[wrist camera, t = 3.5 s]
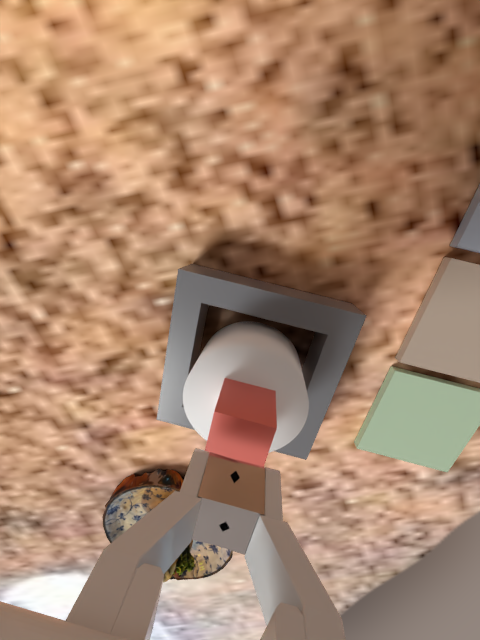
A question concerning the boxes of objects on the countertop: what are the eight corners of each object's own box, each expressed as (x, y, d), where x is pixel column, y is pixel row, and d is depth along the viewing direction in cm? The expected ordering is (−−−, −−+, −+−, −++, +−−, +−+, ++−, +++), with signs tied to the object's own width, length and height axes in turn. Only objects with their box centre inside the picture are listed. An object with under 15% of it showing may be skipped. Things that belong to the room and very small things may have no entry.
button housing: (192, 263, 16) (178, 268, 13) (351, 303, 15) (366, 315, 13) (170, 396, 19) (156, 419, 17) (301, 431, 19) (306, 459, 16)
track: (518, 105, 12) (530, 98, 11) (660, 136, 12) (679, 131, 11) (354, 441, 19) (356, 448, 18) (441, 464, 18) (447, 472, 18)
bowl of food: (174, 572, 26) (139, 695, 19) (88, 501, 24) (14, 609, 17) (265, 530, 23) (263, 661, 16) (173, 443, 21) (124, 549, 14)
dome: (211, 310, 15) (174, 357, 9) (313, 335, 14) (342, 401, 9) (194, 395, 17) (155, 478, 11) (284, 419, 16) (291, 516, 11)
